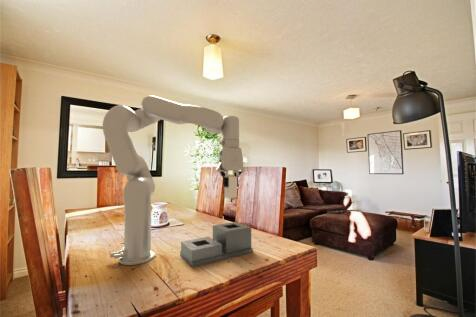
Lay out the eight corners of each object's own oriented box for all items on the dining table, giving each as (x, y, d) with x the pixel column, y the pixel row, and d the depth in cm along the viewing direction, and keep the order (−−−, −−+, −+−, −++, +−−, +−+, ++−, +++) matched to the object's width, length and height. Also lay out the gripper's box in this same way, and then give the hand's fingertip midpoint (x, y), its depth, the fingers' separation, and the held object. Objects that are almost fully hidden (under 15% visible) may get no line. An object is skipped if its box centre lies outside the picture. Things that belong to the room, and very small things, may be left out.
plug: (229, 198, 92) (229, 175, 92) (223, 197, 96) (223, 175, 96) (237, 197, 94) (237, 175, 94) (231, 196, 98) (231, 175, 98)
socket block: (192, 267, 76) (192, 238, 77) (180, 254, 88) (180, 229, 89) (252, 252, 90) (252, 227, 91) (235, 243, 102) (234, 221, 103)
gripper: (217, 142, 88) (217, 188, 87) (251, 144, 97) (251, 186, 96) (209, 144, 94) (209, 187, 93) (241, 146, 103) (242, 185, 102)
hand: (230, 186), depth 95 cm, fingers closed on plug, 4 cm apart
